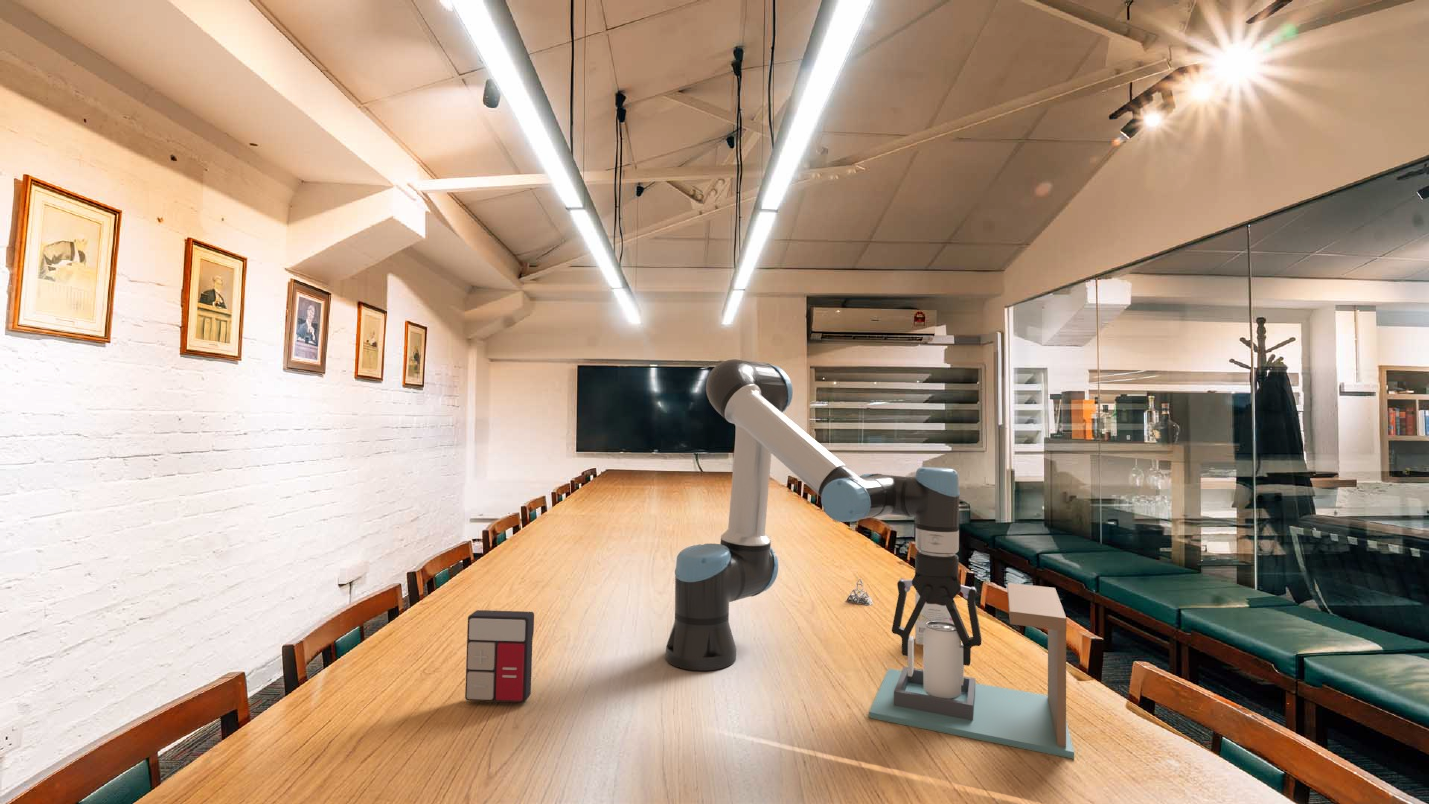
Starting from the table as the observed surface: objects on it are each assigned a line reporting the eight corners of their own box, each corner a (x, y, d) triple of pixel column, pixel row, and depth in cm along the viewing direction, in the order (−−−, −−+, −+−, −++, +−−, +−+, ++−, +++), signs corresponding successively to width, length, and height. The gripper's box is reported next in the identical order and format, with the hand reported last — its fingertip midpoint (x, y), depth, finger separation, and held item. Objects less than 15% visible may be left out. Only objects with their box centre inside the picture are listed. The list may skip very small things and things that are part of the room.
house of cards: (885, 604, 183) (885, 577, 184) (875, 611, 176) (875, 583, 176) (854, 599, 188) (855, 572, 188) (844, 605, 181) (844, 578, 181)
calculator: (462, 702, 113) (465, 616, 114) (472, 692, 118) (475, 609, 118) (524, 704, 113) (526, 618, 114) (532, 694, 117) (534, 611, 118)
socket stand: (869, 717, 111) (870, 594, 111) (888, 673, 131) (889, 569, 131) (1074, 758, 98) (1074, 620, 99) (1060, 702, 118) (1060, 588, 119)
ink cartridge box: (954, 644, 150) (955, 580, 150) (954, 650, 145) (954, 585, 145) (916, 638, 153) (916, 576, 153) (914, 645, 148) (915, 581, 149)
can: (964, 702, 112) (963, 632, 113) (925, 698, 114) (925, 630, 114) (957, 687, 119) (957, 621, 119) (921, 684, 120) (921, 619, 120)
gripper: (875, 550, 118) (873, 675, 118) (999, 562, 110) (998, 696, 109) (882, 543, 125) (880, 661, 124) (998, 554, 117) (997, 681, 116)
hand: (935, 677), depth 117 cm, fingers open, 8 cm apart
